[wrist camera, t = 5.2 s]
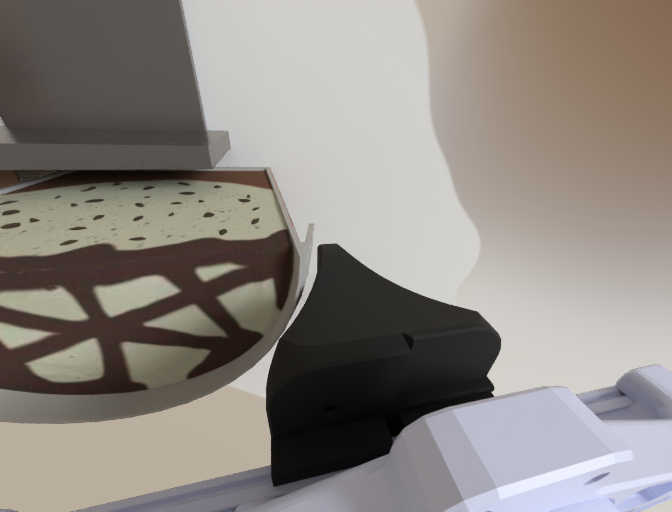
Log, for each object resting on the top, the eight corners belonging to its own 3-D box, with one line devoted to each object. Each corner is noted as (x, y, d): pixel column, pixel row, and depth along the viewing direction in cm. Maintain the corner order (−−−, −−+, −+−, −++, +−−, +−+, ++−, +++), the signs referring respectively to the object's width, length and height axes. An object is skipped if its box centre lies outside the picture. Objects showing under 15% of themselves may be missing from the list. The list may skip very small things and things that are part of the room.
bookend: (230, 147, 14) (212, 169, 9) (-3, 145, 12) (-155, 170, 7) (205, -9, 11) (162, -78, 6) (-118, -49, 9) (-488, -189, 4)
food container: (95, 270, 16) (-110, 469, 7) (39, 166, 12) (-442, 307, 4) (299, 257, 18) (320, 394, 10) (296, 167, 15) (324, 256, 6)
